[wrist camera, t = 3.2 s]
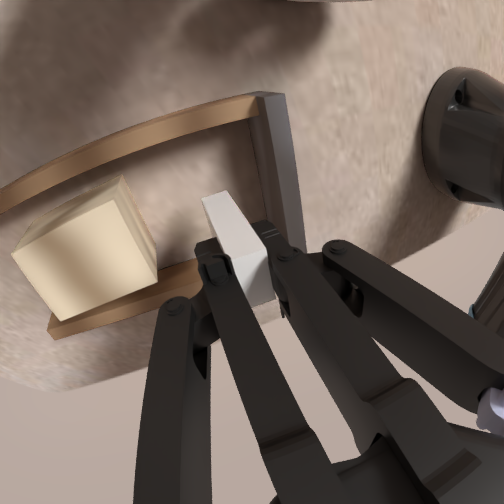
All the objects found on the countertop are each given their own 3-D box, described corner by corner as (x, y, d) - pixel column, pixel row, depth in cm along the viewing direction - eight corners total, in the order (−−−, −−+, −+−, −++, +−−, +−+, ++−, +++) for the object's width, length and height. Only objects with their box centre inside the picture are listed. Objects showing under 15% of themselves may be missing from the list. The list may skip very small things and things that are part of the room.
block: (122, 173, 19) (113, 199, 15) (155, 243, 22) (157, 282, 18) (34, 219, 18) (10, 254, 14) (72, 279, 22) (60, 321, 18)
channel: (259, 91, 18) (284, 93, 15) (285, 241, 25) (308, 270, 22) (-10, 195, 16) (-38, 221, 12) (60, 316, 23) (51, 353, 19)
